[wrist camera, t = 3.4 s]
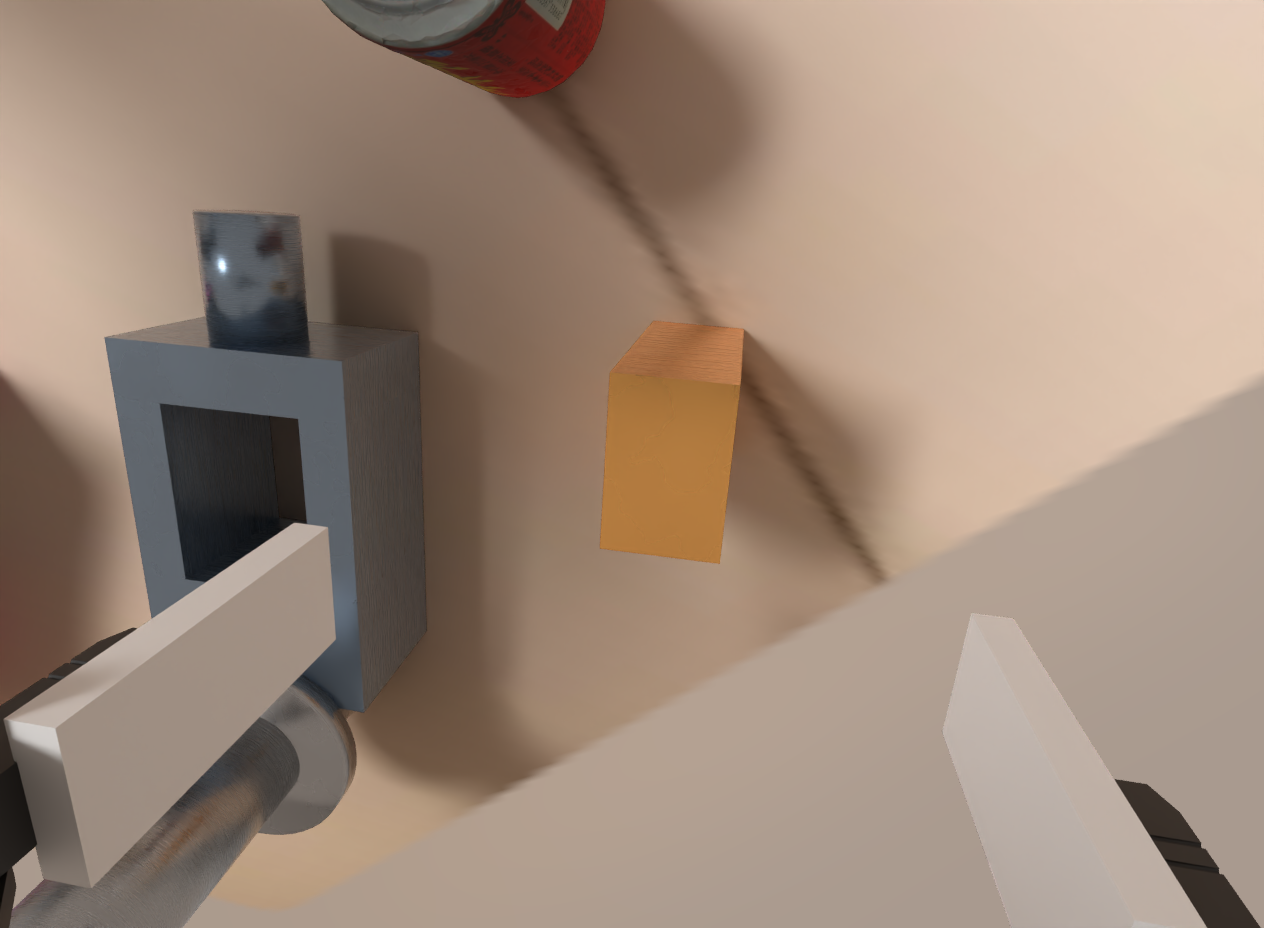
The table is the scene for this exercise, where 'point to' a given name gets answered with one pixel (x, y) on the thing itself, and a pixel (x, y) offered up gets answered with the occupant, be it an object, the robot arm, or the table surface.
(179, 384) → the bracket
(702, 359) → the orange block
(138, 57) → the table surface
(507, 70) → the soda can
